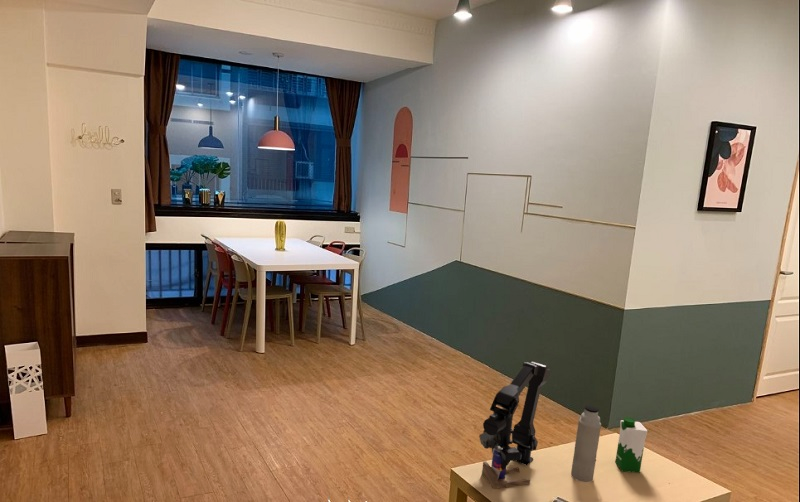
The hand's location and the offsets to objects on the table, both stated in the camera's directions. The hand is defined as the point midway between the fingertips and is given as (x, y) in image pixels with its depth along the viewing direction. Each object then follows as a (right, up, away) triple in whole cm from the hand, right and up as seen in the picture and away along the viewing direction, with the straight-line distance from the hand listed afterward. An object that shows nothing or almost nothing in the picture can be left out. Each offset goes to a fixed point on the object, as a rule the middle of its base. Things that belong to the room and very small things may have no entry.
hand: (498, 465), depth 195 cm
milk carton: (+54, -8, +17) cm, 58 cm away
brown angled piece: (+3, -6, +2) cm, 7 cm away
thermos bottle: (+33, -8, +8) cm, 35 cm away
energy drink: (0, -6, +1) cm, 6 cm away
